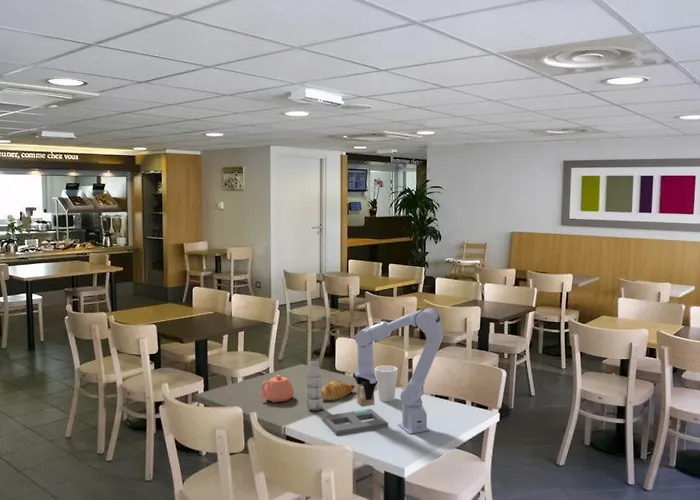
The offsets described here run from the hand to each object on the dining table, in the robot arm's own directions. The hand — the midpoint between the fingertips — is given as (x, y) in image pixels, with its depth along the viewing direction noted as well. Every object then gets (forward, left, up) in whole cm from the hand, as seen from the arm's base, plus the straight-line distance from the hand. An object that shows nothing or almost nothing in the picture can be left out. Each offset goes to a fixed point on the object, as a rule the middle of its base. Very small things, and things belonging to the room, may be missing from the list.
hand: (366, 397), depth 226 cm
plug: (0, 0, -3) cm, 3 cm away
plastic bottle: (+20, +14, -10) cm, 26 cm away
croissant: (+33, +2, -10) cm, 34 cm away
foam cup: (+20, -17, -10) cm, 28 cm away
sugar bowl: (+38, +25, -10) cm, 46 cm away
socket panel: (0, +5, -9) cm, 10 cm away
